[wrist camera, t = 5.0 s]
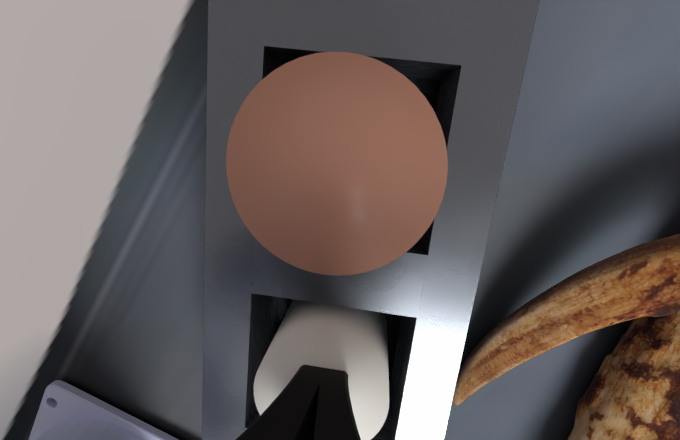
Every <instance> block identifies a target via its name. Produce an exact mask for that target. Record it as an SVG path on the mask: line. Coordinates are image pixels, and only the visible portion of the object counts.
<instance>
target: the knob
mask: <svg viewBox="0 0 680 440" xmlns="http://www.w3.org/2000/svg"><path fill="white" fill-rule="evenodd" d="M302 365H311V366H317V367H323V368H329V369H335V370H342V371H345V372H346V373H347V374H348V387H349V395H350V400H351V405H352V410H353V414H354V418H355V421H356V425H357V429H358V432H359V436H360V439H361V440H371V439H372V438H373V437H374V436H375V435H376V434H377V433H378V432H379V431H380V429H381V428H382V426H383V424H384V422H385V420H386V418H387V414H388V410H389V369H388V331H387V320H386V316H385V313H381V312H375V311H368V310H361V309H355V308H348V307H341V306H334V305H328V304H321V303H314V302H307V301H301V300H294V299H293V301H292V302H291V304H290V306H289V308H288V310H287V312H286V314H285V316H284V318H283V320H282V322H281V324H280V326H279V328H278V330H277V332H276V334H275V336H274V338H273V340H272V342H271V344H270V346H269V348H268V350H267V352H266V354H265V356H264V358H263V360H262V362H261V364H260V366H259V368H258V370H257V373H256V376H255V379H254V399H255V404H256V407H257V410H258V412H259V414H260V415H261V414H262V413H263V412H264V411H265V410H266V409H267V408H268V407H269V405H270V404H271V403H272V402H273V401H274V400H275V399H276V398H277V396H278V395H279V394H280V393H281V392H282V391H283V389H284V388H285V387H286V386H287V384H288V383H289V382H290V380H291V379H292V378H293V376H294V375H295V374H296V372H297V371H298V369H299V368H300V367H301V366H302Z"/></svg>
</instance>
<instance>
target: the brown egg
mask: <svg viewBox="0 0 680 440" xmlns="http://www.w3.org/2000/svg"><path fill="white" fill-rule="evenodd" d="M226 173H227V179H228V185H229V189H230V193H231V196H232V200H233V202H234V205H235V207H236V209H237V212H238V214H239V215H240V217H241V219H242V221H243V222H244V224H245V226H246V227H247V228H248V230H249V231H250V232H251V234H252V235H253V236H254V237H255V238H256V239H257V240H258V241H259V242H260V243H261V244H262V245H263V246H264V247H265V248H266V249H267V250H269V251H270V252H271V253H272V254H273V255H275V256H277V257H278V258H280V259H281V260H283V261H285V262H286V263H289V264H291V265H293V266H295V267H297V268H300V269H303V270H306V271H309V272H313V273H318V274H323V275H335V276H339V275H353V274H359V273H364V272H368V271H371V270H374V269H377V268H380V267H382V266H384V265H386V264H389V263H390V262H392V261H394V260H395V259H397V258H399V257H400V256H402V255H403V254H404V253H405V252H407V251H408V250H409V249H410V248H412V247H413V246H414V245H415V244H416V243H417V242H418V241H419V239H420V238H421V237H422V236H423V235H424V233H425V232H426V231H427V229H428V228H429V227H430V225H431V223H432V222H433V220H434V218H435V216H436V214H437V212H438V210H439V207H440V205H441V202H442V200H443V196H444V192H445V188H446V182H447V173H448V157H447V149H446V143H445V138H444V135H443V132H442V128H441V125H440V123H439V121H438V118H437V116H436V114H435V112H434V110H433V108H432V107H431V105H430V104H429V102H428V101H427V99H426V97H425V96H424V95H423V94H422V93H421V92H420V90H419V89H418V88H417V87H416V86H415V85H414V84H413V83H412V82H411V81H410V80H409V79H408V78H406V77H405V76H404V75H403V74H401V73H400V72H398V71H397V70H395V69H394V68H392V67H391V66H389V65H387V64H385V63H383V62H381V61H379V60H377V59H374V58H370V57H367V56H364V55H361V54H355V53H349V52H322V53H314V54H311V55H307V56H303V57H299V58H297V59H295V60H292V61H290V62H288V63H285V64H284V65H282V66H280V67H279V68H277V69H275V70H274V71H272V72H271V73H270V74H269V75H267V76H266V77H265V78H264V79H262V80H261V81H260V82H259V83H258V84H257V85H256V86H255V88H254V89H253V90H252V91H251V92H250V93H249V95H248V96H247V98H246V99H245V100H244V102H243V103H242V105H241V107H240V109H239V111H238V113H237V115H236V116H235V119H234V122H233V125H232V127H231V130H230V134H229V139H228V143H227V153H226Z"/></svg>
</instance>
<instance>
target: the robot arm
mask: <svg viewBox="0 0 680 440" xmlns="http://www.w3.org/2000/svg"><path fill="white" fill-rule="evenodd" d="M29 440H179V439H177V438H175V437H173V436H171V435H169V434H167V433H165V432H163V431H161V430H159V429H157V428H155V427H153V426H151V425H149V424H147V423H145V422H143V421H141V420H139V419H137V418H135V417H133V416H131V415H129V414H127V413H125V412H123V411H121V410H119V409H117V408H115V407H113V406H111V405H110V404H108V403H106V402H104V401H102V400H100V399H98V398H96V397H94V396H92V395H90V394H88V393H86V392H84V391H82V390H80V389H78V388H76V387H74V386H72V385H70V384H68V383H66V382H64V381H61V380H56V381H54V382H52V383H51V384H50V385H48V386H47V387H46V389H45V392H44V395H43V398H42V401H41V404H40V407H39V410H38V413H37V416H36V419H35V422H34V425H33V428H32V431H31V434H30V437H29ZM236 440H361V439H360V436H359V432H358V429H357V425H356V421H355V418H354V414H353V410H352V405H351V400H350V395H349V387H348V374H347V373H346V372H345V371H342V370H335V369H329V368H323V367H317V366H311V365H302V366H301V367H300V368H299V369H298V371H297V372H296V374H295V375H294V376H293V378H292V379H291V380H290V382H289V383H288V384H287V386H286V387H285V388H284V389H283V391H282V392H281V393H280V394H279V395H278V396H277V398H276V399H275V400H274V401H273V402H272V403H271V404H270V405H269V407H268V408H267V409H266V410H265V411H264V412H263V413H262V414H261V415H260V416H259V417H258V418H257V419H256V420H255V421H254V422H253V423H252V424H251V425H250V426H249V427H248V428H247V429H246V430H245V431H244V432H243V433H242V434H241V435H240V436H239V437H238V438H237V439H236Z"/></svg>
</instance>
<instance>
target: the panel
mask: <svg viewBox="0 0 680 440" xmlns="http://www.w3.org/2000/svg"><path fill="white" fill-rule="evenodd" d="M539 1H540V0H208V50H207V119H206V188H205V256H204V325H203V393H202V440H236V439H237V438H238V437H239V436H240V435H241V434H242V433H243V432H244V431H245V430H246V429H247V428H248V427H249V426H250V425H251V424H252V423H253V422H254V421H255V420H256V419H257V418H258V417H259V416H260V414H259V412H258V410H257V407H256V404H255V399H254V379H255V376H256V373H257V370H258V368H259V366H260V364H261V362H262V360H263V358H264V356H265V354H266V352H267V350H268V348H269V346H270V344H271V342H272V340H273V338H274V336H275V334H276V319H277V305H278V297H281V298H287V299H294V300H301V301H307V302H314V303H321V304H328V305H334V306H341V307H348V308H355V309H361V310H368V311H375V312H381V313H388V314H395V315H402V316H401V322H400V328H399V334H398V341H397V347H396V353H395V359H394V365H393V371H392V377H391V383H389V410H388V414H387V418H386V420H385V422H384V424H383V426H382V428H381V429H380V431H379V432H378V433H377V434H376V435H375V436H374V437H373V438H372V439H371V440H444V436H445V432H446V427H447V422H448V418H449V413H450V409H451V404H452V400H453V395H454V390H455V386H456V381H457V377H458V372H459V367H460V363H461V358H462V354H463V349H464V345H465V340H466V335H467V331H468V326H469V322H470V317H471V312H472V308H473V303H474V299H475V294H476V290H477V285H478V280H479V276H480V271H481V267H482V262H483V258H484V253H485V248H486V244H487V239H488V235H489V230H490V225H491V221H492V216H493V212H494V207H495V203H496V198H497V193H498V189H499V184H500V180H501V175H502V170H503V166H504V161H505V157H506V152H507V148H508V143H509V138H510V134H511V129H512V125H513V120H514V116H515V111H516V106H517V102H518V97H519V93H520V88H521V83H522V79H523V74H524V70H525V65H526V61H527V56H528V51H529V47H530V42H531V38H532V33H533V28H534V24H535V19H536V15H537V10H538V6H539ZM322 52H349V53H355V54H361V55H364V56H367V57H370V58H374V59H377V60H379V61H381V62H383V63H385V64H387V65H389V66H391V67H392V68H394V69H395V70H397V71H398V72H400V73H401V74H403V75H404V76H405V77H413V78H423V79H433V80H441V81H440V87H439V93H438V99H437V105H436V111H435V114H436V116H437V118H438V121H439V123H440V125H441V128H442V132H443V135H444V138H445V143H446V149H447V157H448V173H447V182H446V188H445V192H444V196H443V200H442V202H441V205H440V207H439V210H438V212H437V214H436V216H435V218H434V220H433V222H432V223H431V225H430V227H429V228H428V229H427V231H426V232H425V233H424V235H423V236H422V237H421V238H420V239H419V241H418V242H417V243H416V244H415V245H414V246H413V247H412V248H410V249H409V250H408V251H407V252H405V253H404V254H403V255H402V256H400V257H399V258H397V259H395V260H394V261H392V262H390V263H389V264H386V265H384V266H382V267H380V268H377V269H374V270H371V271H368V272H364V273H359V274H353V275H339V276H335V275H323V274H318V273H313V272H309V271H306V270H303V269H300V268H297V267H295V266H293V265H291V264H289V263H286V262H285V261H283V260H281V259H280V258H278V257H277V256H275V255H273V254H272V253H271V252H270V251H269V250H267V249H266V248H265V247H264V246H263V245H262V244H261V243H260V242H259V241H258V240H257V239H256V238H255V237H254V236H253V235H252V234H251V232H250V231H249V230H248V228H247V227H246V226H245V224H244V222H243V221H242V219H241V217H240V215H239V214H238V212H237V209H236V207H235V205H234V202H233V200H232V196H231V193H230V189H229V185H228V179H227V173H226V153H227V143H228V139H229V134H230V130H231V127H232V125H233V122H234V119H235V116H236V115H237V113H238V111H239V109H240V107H241V105H242V103H243V102H244V100H245V99H246V98H247V96H248V95H249V93H250V92H251V91H252V90H253V89H254V88H255V86H256V85H257V84H258V83H259V82H260V81H261V80H262V79H264V78H265V77H266V76H267V75H269V74H270V73H271V72H272V71H274V70H275V69H277V68H279V67H280V66H282V65H284V64H285V63H288V62H290V61H292V60H295V59H297V58H299V57H303V56H307V55H311V54H314V53H322Z"/></svg>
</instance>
